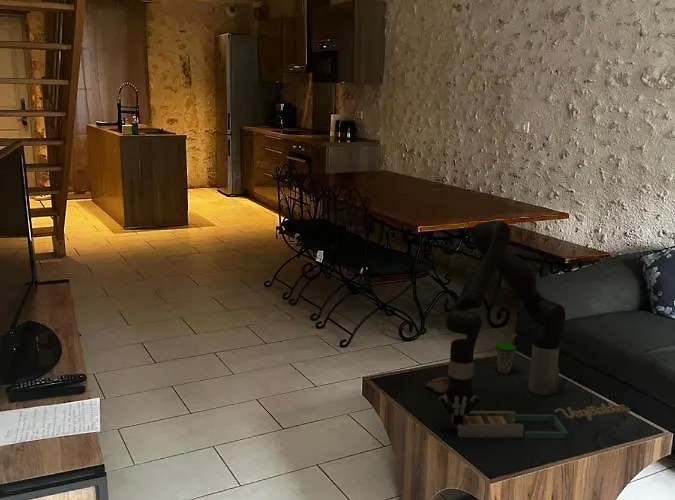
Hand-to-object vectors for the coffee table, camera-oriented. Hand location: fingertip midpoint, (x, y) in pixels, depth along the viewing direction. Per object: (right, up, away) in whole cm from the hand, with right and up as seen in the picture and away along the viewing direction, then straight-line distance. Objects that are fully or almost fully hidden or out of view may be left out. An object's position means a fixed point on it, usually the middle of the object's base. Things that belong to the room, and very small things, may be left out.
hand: (457, 424), depth 205 cm
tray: (+26, -2, +1) cm, 26 cm away
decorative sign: (+49, 0, +15) cm, 51 cm away
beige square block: (+5, -1, 0) cm, 5 cm away
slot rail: (+9, -2, +1) cm, 9 cm away
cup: (+27, +8, +48) cm, 56 cm away
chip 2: (+12, -1, 0) cm, 12 cm away
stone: (+1, +4, +31) cm, 31 cm away
